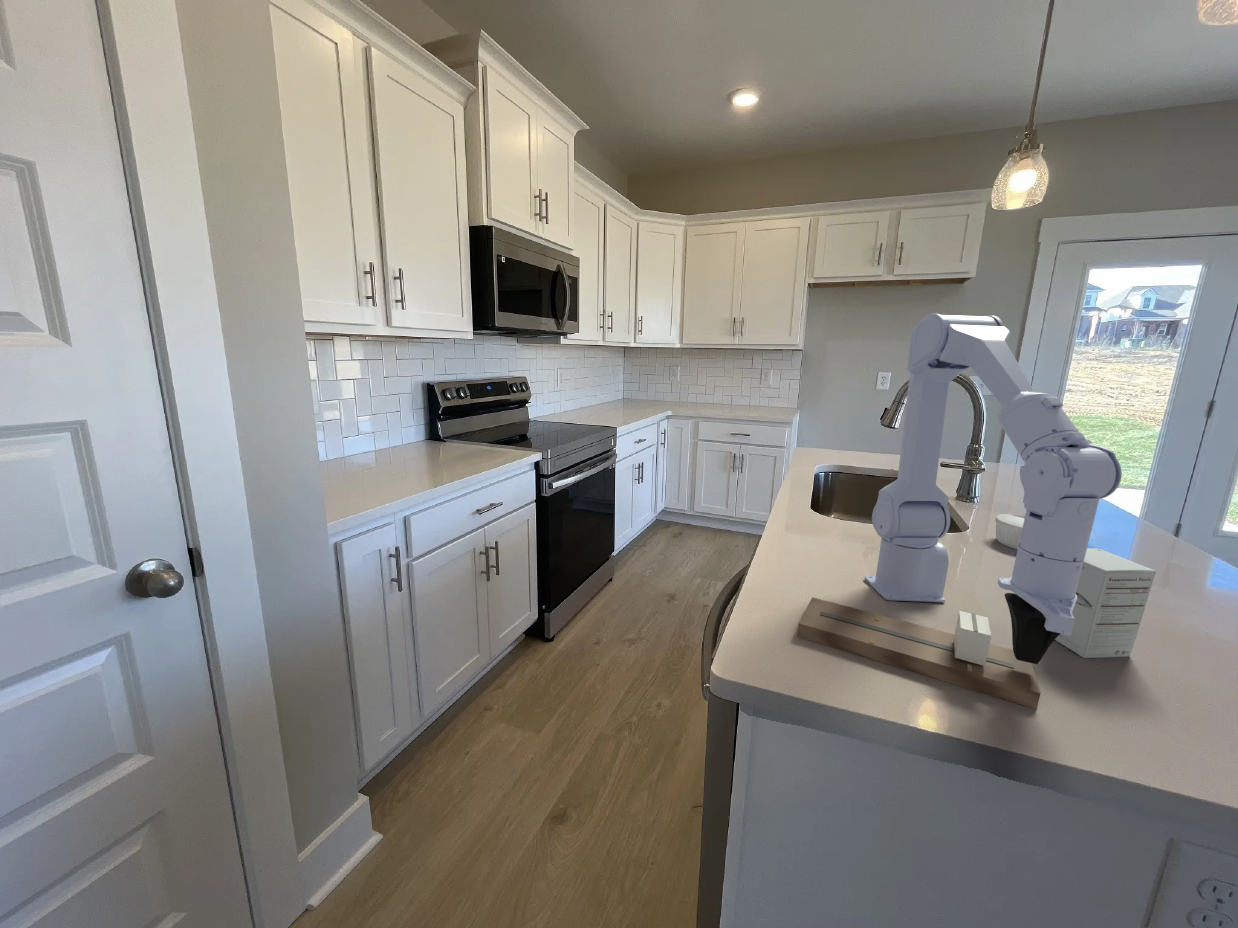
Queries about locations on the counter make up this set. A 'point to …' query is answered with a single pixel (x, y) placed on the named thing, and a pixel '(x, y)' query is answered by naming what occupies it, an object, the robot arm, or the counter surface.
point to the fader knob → (972, 638)
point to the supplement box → (1108, 605)
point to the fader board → (918, 650)
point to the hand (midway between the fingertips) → (1025, 659)
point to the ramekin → (1009, 529)
